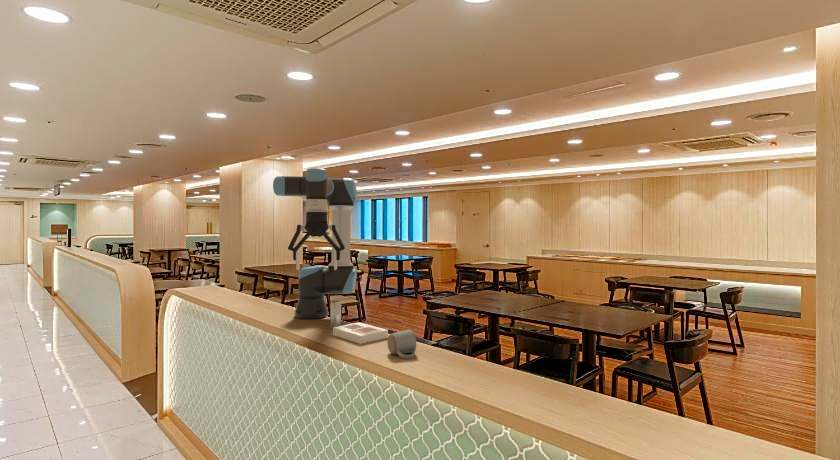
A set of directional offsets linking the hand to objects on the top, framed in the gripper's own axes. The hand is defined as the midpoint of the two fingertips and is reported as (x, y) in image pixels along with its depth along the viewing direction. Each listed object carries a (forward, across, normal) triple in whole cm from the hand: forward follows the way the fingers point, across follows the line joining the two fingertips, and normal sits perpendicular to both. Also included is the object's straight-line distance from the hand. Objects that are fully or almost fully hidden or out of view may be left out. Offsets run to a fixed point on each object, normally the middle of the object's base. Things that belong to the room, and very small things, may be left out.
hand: (316, 269), depth 168 cm
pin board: (+27, +15, +9) cm, 32 cm away
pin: (+27, +4, +23) cm, 36 cm away
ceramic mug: (+27, +31, -16) cm, 44 cm away
